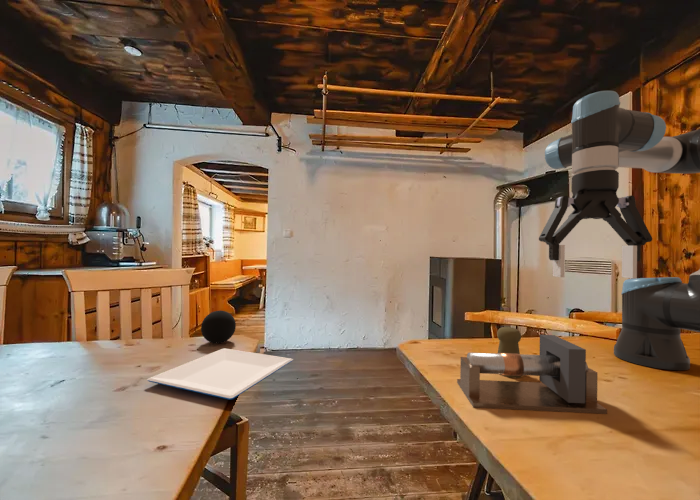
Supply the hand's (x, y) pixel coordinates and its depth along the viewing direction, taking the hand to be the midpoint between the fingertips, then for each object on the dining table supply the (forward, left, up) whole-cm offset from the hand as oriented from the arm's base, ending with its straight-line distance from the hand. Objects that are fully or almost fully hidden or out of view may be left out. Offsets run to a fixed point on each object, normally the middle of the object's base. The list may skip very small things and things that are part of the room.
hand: (593, 277), depth 62 cm
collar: (+7, +1, -23) cm, 24 cm away
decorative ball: (+93, -27, -25) cm, 100 cm away
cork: (+11, -12, -25) cm, 30 cm away
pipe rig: (+14, +1, -25) cm, 28 cm away
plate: (+78, -3, -25) cm, 82 cm away
